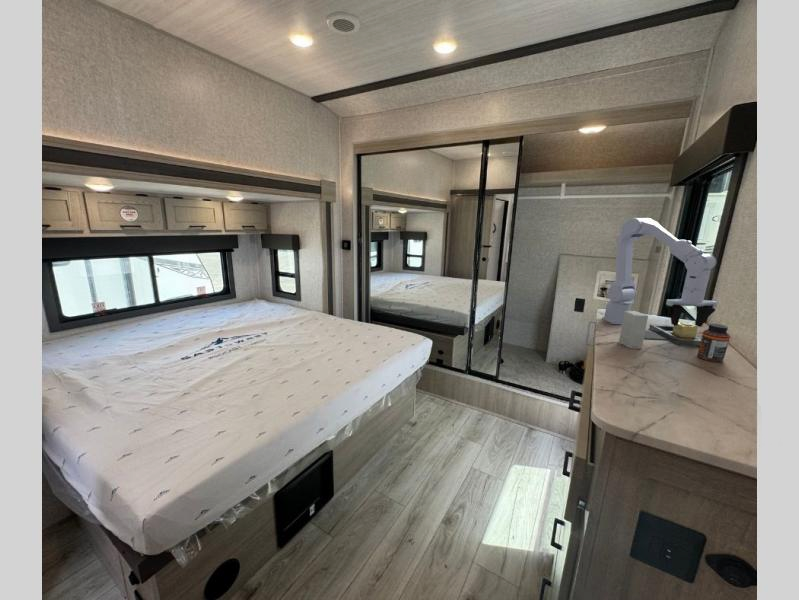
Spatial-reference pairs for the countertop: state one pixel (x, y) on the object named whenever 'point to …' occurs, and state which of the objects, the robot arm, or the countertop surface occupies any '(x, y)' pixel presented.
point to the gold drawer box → (685, 330)
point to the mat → (653, 336)
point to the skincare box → (633, 329)
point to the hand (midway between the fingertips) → (686, 325)
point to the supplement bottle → (714, 343)
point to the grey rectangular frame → (667, 333)
